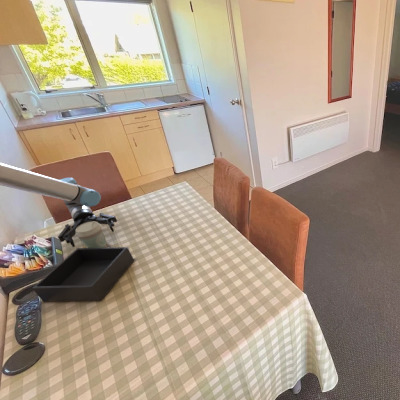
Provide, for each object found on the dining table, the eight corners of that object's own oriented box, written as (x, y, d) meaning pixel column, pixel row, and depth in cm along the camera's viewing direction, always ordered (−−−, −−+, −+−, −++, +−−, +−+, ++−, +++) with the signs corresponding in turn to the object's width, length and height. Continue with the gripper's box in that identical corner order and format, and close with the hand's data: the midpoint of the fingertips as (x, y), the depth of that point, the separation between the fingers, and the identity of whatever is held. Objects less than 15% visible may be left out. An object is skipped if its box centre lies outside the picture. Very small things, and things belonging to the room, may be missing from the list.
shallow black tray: (43, 301, 91) (31, 288, 87) (85, 261, 108) (77, 247, 104) (100, 300, 91) (91, 286, 87) (134, 260, 108) (127, 247, 104)
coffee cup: (102, 255, 110) (89, 233, 104) (82, 255, 110) (67, 233, 104) (116, 242, 117) (104, 220, 111) (97, 242, 118) (84, 220, 111)
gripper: (117, 212, 133) (130, 230, 120) (52, 235, 118) (59, 258, 105) (111, 199, 129) (123, 216, 117) (43, 221, 114) (48, 243, 101)
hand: (93, 236), depth 111 cm, fingers open, 13 cm apart
